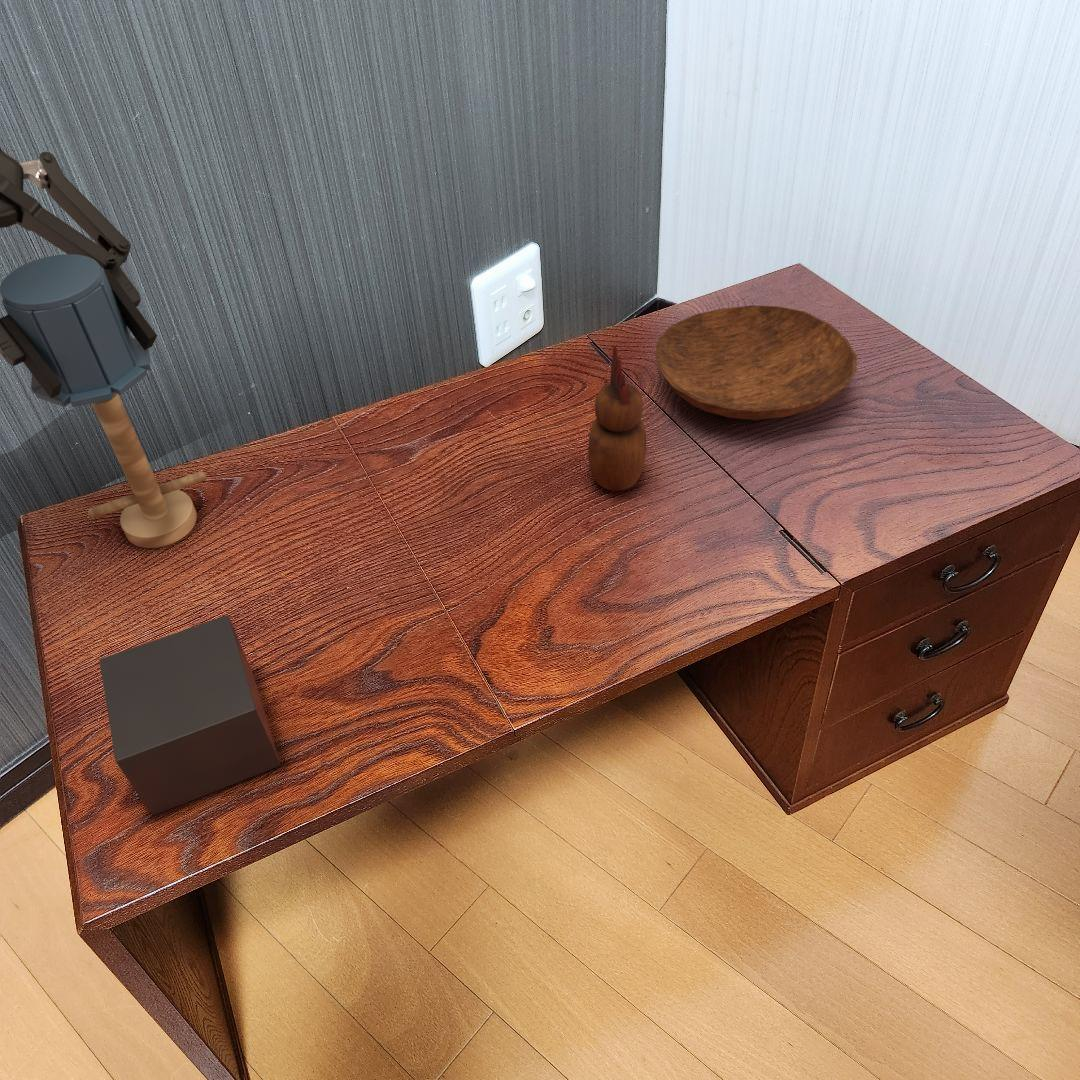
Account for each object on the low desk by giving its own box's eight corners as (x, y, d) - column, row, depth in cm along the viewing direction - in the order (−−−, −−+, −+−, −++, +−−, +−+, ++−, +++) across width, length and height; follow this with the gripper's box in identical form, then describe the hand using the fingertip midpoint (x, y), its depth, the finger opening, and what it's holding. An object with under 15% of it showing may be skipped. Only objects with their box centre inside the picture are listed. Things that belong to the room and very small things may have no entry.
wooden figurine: (591, 455, 99) (593, 334, 88) (646, 458, 98) (654, 337, 87) (584, 498, 94) (585, 377, 83) (641, 502, 94) (650, 380, 83)
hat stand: (110, 566, 90) (41, 437, 78) (97, 522, 94) (30, 394, 82) (226, 524, 93) (177, 395, 82) (208, 483, 98) (159, 356, 86)
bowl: (879, 426, 101) (890, 389, 97) (686, 461, 98) (690, 424, 94) (802, 328, 114) (810, 292, 111) (631, 357, 111) (632, 321, 108)
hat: (9, 388, 79) (-42, 294, 72) (92, 330, 85) (52, 238, 78) (93, 417, 76) (47, 322, 69) (173, 354, 82) (138, 261, 75)
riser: (152, 816, 71) (115, 761, 65) (134, 716, 77) (98, 658, 72) (281, 766, 74) (256, 709, 68) (253, 673, 80) (228, 614, 74)
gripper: (42, 107, 82) (201, 327, 86) (-212, 193, 71) (-16, 441, 75) (47, 55, 75) (219, 296, 79) (-230, 141, 65) (-16, 414, 69)
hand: (104, 366), depth 77 cm, fingers closed on hat, 8 cm apart
